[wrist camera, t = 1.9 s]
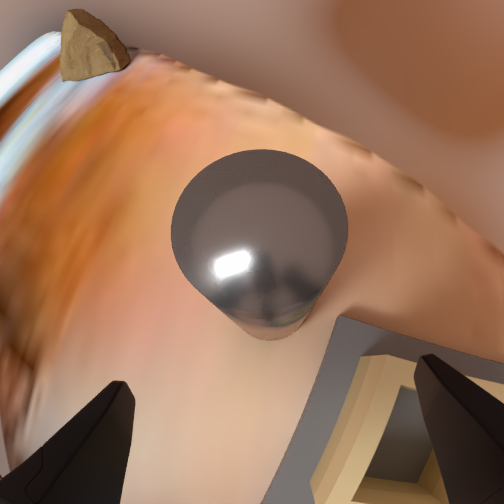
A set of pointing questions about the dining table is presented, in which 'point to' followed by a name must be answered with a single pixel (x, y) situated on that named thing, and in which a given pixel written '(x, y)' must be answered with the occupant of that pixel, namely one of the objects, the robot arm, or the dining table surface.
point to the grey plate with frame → (370, 423)
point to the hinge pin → (260, 238)
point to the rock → (89, 47)
